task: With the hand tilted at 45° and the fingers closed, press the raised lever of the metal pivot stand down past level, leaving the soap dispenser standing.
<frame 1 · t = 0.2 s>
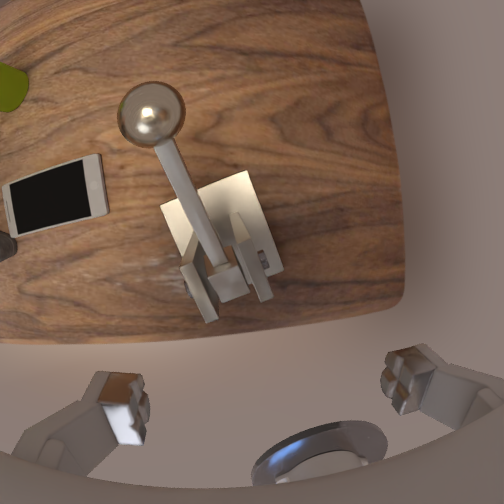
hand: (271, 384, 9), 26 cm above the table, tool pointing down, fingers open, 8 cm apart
metal pivot stand: (223, 236, 34), on the table
soap dispenser: (14, 88, 26), on the table
lever: (191, 202, 17), point 16 cm above the table, hinge at 24.0°
smartphone: (51, 197, 30), on the table
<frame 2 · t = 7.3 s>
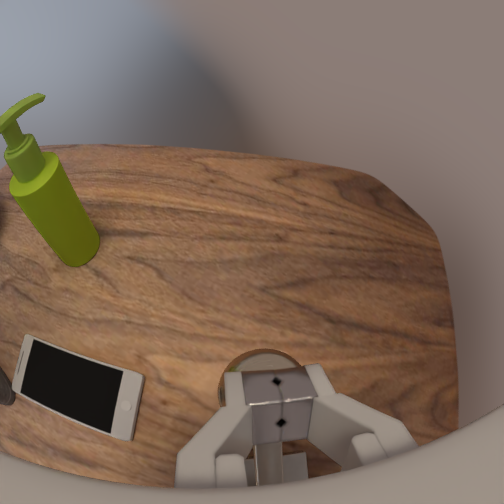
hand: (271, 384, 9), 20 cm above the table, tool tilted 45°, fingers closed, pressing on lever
soap dispenser: (82, 243, 34), on the table
lever: (270, 502, 10), point 15 cm above the table, hinge at 21.0°, touching gripper
smartphone: (72, 386, 25), on the table
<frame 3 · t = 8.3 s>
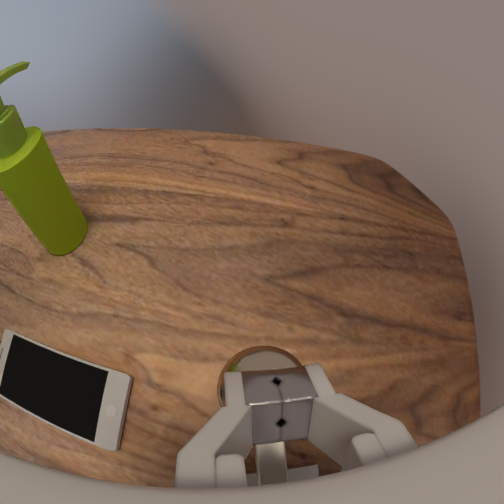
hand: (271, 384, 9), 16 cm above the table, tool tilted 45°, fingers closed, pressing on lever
soap dispenser: (69, 230, 30), on the table
smartphone: (54, 387, 21), on the table
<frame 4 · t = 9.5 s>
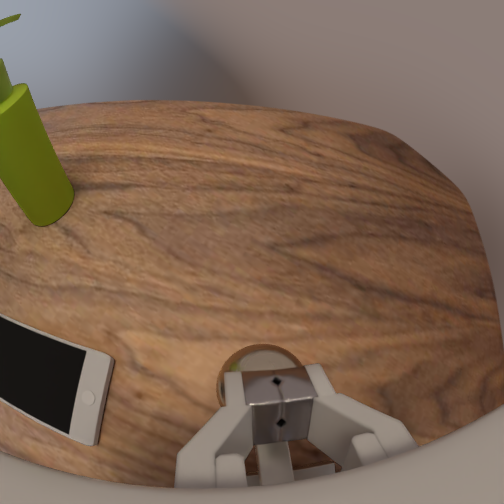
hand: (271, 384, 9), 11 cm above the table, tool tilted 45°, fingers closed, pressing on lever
soap dispenser: (54, 201, 27), on the table
smartphone: (28, 370, 18), on the table
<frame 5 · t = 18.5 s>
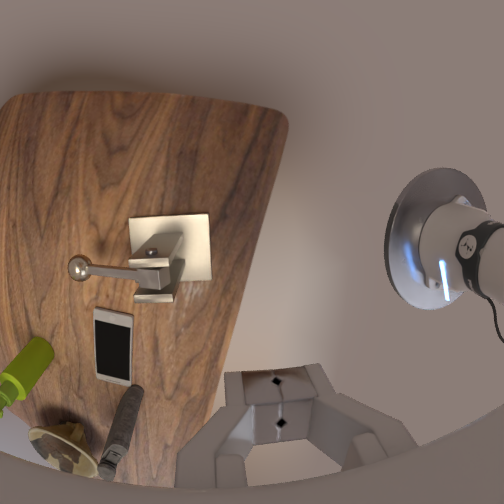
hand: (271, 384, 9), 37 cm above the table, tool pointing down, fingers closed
metal pivot stand: (171, 247, 45), on the table
bowl: (72, 429, 53), on the table
soap dispenser: (40, 347, 47), on the table
flask: (127, 405, 52), on the table
lever: (111, 271, 34), point 11 cm above the table, hinge at -19.7°
smartphone: (113, 348, 48), on the table
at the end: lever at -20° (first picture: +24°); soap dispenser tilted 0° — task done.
